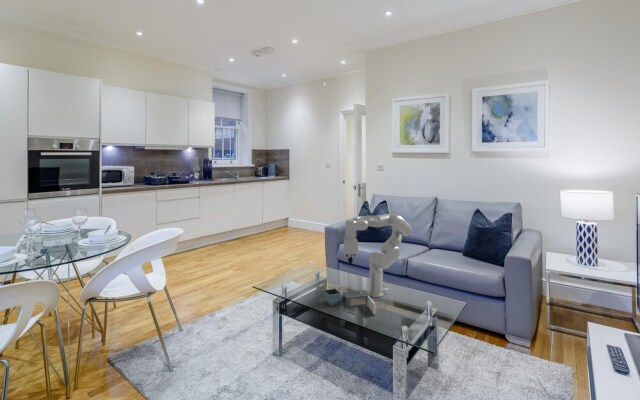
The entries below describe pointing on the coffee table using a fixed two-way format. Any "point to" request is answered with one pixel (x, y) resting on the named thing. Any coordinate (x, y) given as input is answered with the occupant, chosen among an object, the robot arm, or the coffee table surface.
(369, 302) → the side door
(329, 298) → the flower pot
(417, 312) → the coffee table surface
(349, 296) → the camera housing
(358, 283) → the coffee table surface
